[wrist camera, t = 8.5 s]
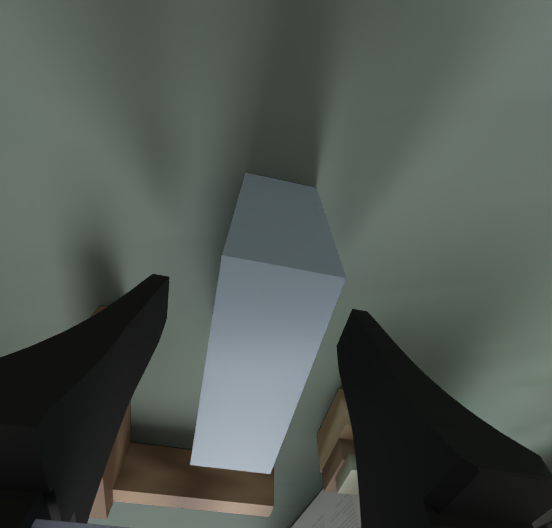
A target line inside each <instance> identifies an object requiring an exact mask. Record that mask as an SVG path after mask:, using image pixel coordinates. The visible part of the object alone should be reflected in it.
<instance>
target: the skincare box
mask: <svg viewBox="0 0 552 528" xmlns="http://www.w3.org/2000/svg"><path fill="white" fill-rule="evenodd" d="M291 528H361V516H360V502H359V495H350V494H341V493H332V492H324V488H323V490H322V491H321V492H320V493H319V494H318V496H317V497H316V498H315V499H314V500H313V502H312V503H311V504H310V505H309V506H308V508H307V509H306V510H305V511H304V513H303V514H302V515H301V516H300V517H299V519H298V520H297V521H296V522H295V524H294V525H293V526H292V527H291Z"/></svg>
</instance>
